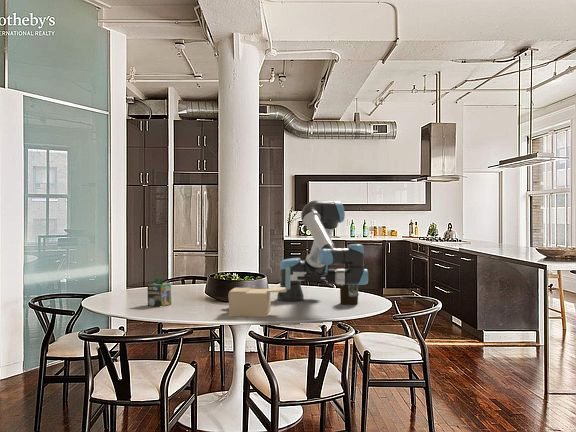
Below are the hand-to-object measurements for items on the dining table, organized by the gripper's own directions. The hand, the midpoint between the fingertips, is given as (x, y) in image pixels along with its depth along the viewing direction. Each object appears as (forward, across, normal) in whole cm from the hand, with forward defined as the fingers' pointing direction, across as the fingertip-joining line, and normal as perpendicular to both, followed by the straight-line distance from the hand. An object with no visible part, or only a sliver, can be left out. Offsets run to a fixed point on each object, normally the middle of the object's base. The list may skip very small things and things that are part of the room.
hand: (291, 276), depth 273 cm
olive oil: (-28, +37, -19) cm, 50 cm away
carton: (+20, 0, -18) cm, 27 cm away
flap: (+6, 0, -7) cm, 9 cm away
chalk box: (+73, +20, -19) cm, 78 cm away
